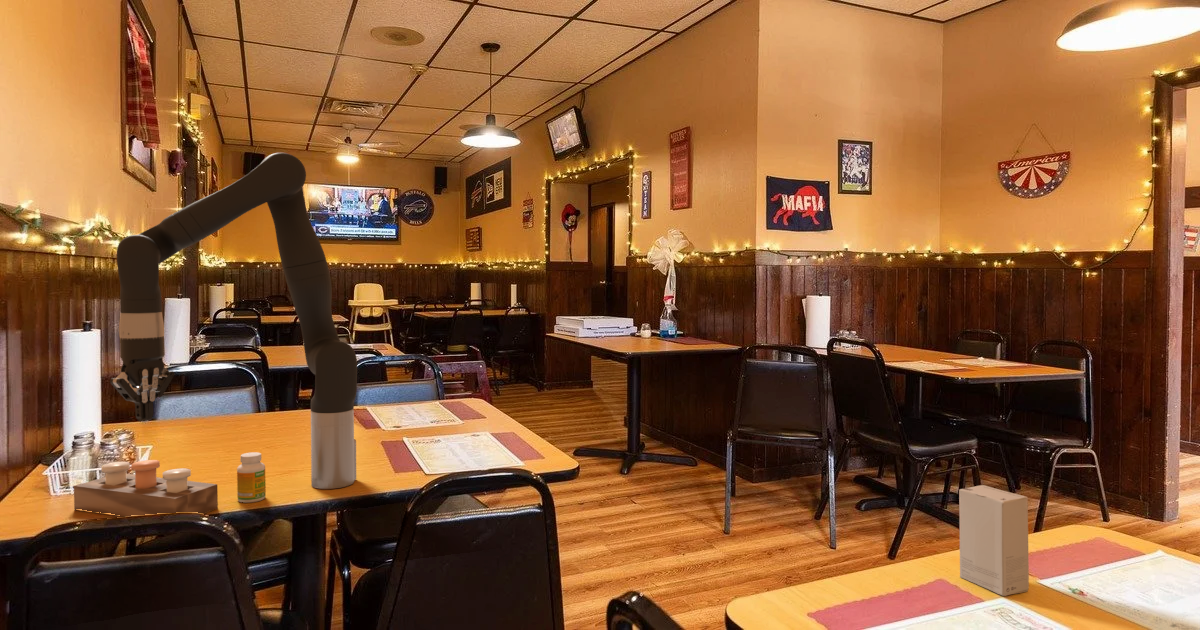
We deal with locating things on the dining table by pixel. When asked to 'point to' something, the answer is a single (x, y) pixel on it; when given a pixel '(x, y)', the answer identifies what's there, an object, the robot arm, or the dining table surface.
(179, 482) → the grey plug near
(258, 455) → the supplement bottle
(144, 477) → the terracotta plug
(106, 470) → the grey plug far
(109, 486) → the walnut socket board
